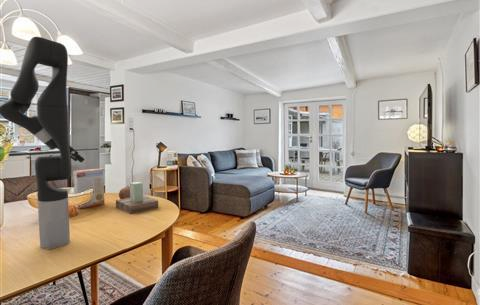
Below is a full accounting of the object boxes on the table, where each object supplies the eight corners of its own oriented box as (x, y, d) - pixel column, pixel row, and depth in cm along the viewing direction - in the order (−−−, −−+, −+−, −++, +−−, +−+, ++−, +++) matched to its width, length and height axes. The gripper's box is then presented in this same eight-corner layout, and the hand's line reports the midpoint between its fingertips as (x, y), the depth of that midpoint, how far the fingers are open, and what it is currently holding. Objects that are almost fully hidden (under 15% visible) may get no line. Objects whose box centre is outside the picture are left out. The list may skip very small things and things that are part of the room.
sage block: (143, 200, 148) (142, 182, 147) (134, 202, 144) (134, 184, 143) (138, 198, 151) (138, 181, 150) (130, 200, 147) (129, 182, 146)
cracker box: (100, 202, 158) (99, 168, 157) (104, 204, 154) (103, 169, 153) (74, 207, 148) (73, 170, 146) (78, 209, 144) (76, 171, 142)
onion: (126, 204, 164) (127, 189, 168) (138, 201, 161) (139, 186, 165) (114, 202, 156) (115, 186, 160) (126, 199, 153) (127, 183, 157)
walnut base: (158, 207, 148) (158, 200, 147) (130, 213, 136) (130, 206, 136) (142, 201, 160) (142, 195, 160) (116, 207, 148) (115, 200, 148)
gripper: (61, 130, 113) (91, 155, 123) (52, 130, 123) (81, 153, 132) (46, 143, 110) (78, 167, 119) (39, 142, 120) (69, 165, 129)
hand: (80, 160), depth 126 cm, fingers open, 8 cm apart
